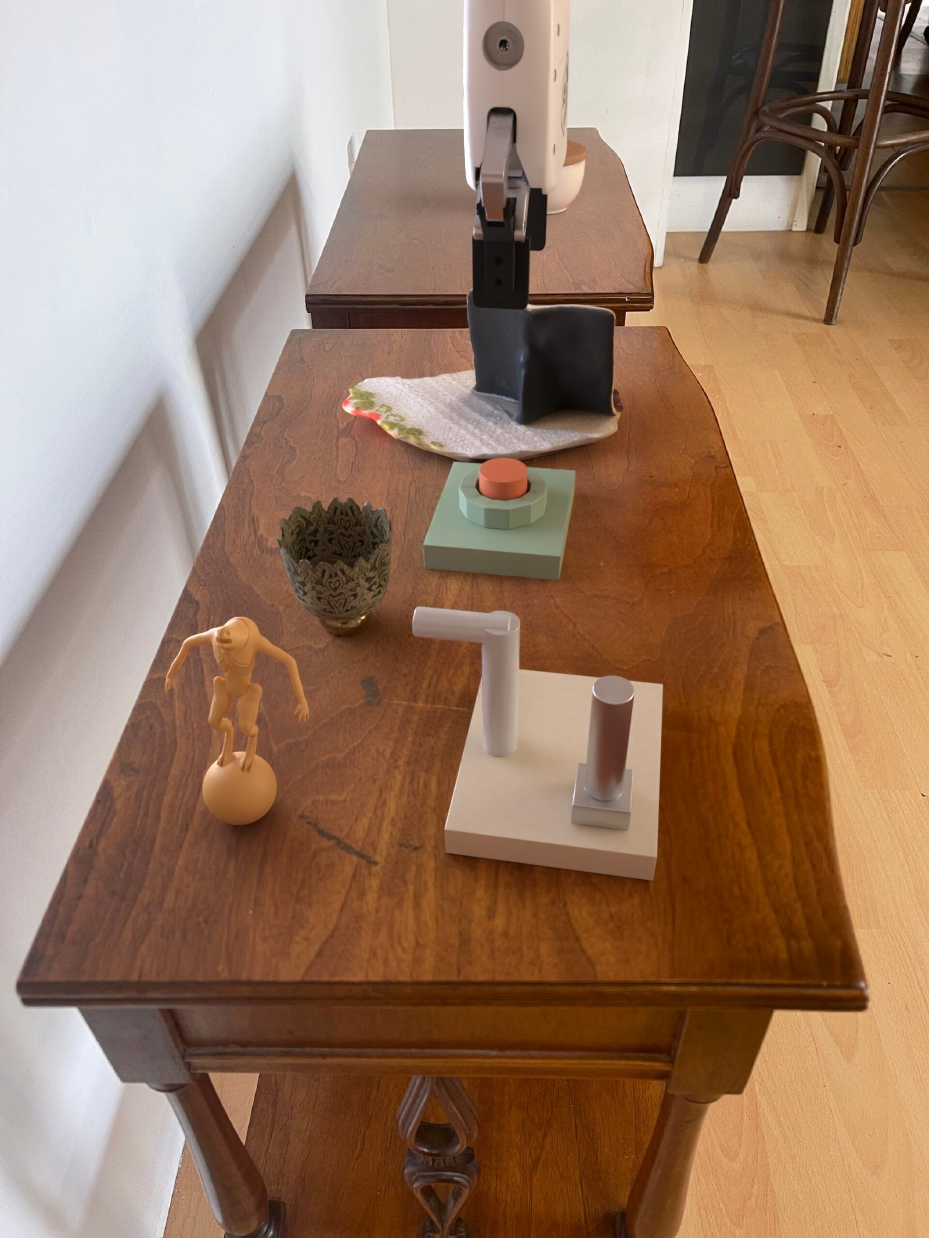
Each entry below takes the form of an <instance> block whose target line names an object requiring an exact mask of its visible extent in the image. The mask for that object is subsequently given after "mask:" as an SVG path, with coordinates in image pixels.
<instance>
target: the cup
mask: <svg viewBox="0 0 929 1238" xmlns="http://www.w3.org/2000/svg"><path fill="white" fill-rule="evenodd" d="M373 509H374V508H373V506H372V503H371V501H370V500H367V501H366V502H365V503H364V504H363V506H362V508H361V507H360V505H359V504H357V503H356V501H355V500H354V498H352V497H347V498H346V500H345V502H344V501H343V500H341V499H340V498H339V497H338V496H335V497H333V498H332V499H331V501H330V502H329V504H328V506H327V510H326V508H325V507H323V504H322V501H321V500H319V499H317V500H316V501H315V502H314V503H313V505H312V508H311V510H307V509H306V508H304V507H303V506H298V505H297V506H294V508H293V509H292V511H291V512H290V514H289V515H288V518H285V517H282V518H280V521H279V528H280V531H281V532H280V533H281V535H280V536H279V537H275V538H276V543H277V545H278V548H279V551H280V555H281V557H282V560H283V565H284V568H285V570H286V574H287V576H288V579H289V582H290V585H291V588H292V590H293V592H294V595H295V597H296V599H297V600H298V602H299V603H300V605H301V606H302V607H303V608H304V610H305V611H307V612H308V613H310V615H312V616H314V617H316V618H318V621H319V623H320V625H321V626H322V628H323V629H325V630H326V631H327V632H328V633H330V634H331V635H335V636H343V637H344V636H352V635H355V634H358V633H360V632H362V631H363V630H364V629H366V628H367V627H368V625H369V624H370V622H371V619H372V617H373V612H374V610H376V608H378V607H379V606H380V604H381V602H382V601H383V600H384V598H385V596H386V595H387V594H386V593H387V591H388V587H389V582H390V576H391V566H392V548H393V547H392V544H393V533H392V531H393V527H392V518H391V517H388V513H387V510H386V508H385V507H383V506H381V507H379V508H376V509H374V510H373Z"/></svg>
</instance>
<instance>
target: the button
mask: <svg viewBox="0 0 929 1238" xmlns="http://www.w3.org/2000/svg"><path fill="white" fill-rule="evenodd" d="M481 464H482V465H481V466H480V469H479V490H480V493H481V494H482V496H485V497H487V498H489V499H492V500H502V501H508V500H512V499H517V498H521V497H522V496H524V495H525V494H526V492H527V467H528V466H527V465H526V464H525V463H524V462H522V460H520V461H518V460H516V459H512V458H495V459H491V460H488V461H486V462H482V463H481Z"/></svg>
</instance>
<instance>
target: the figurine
mask: <svg viewBox="0 0 929 1238" xmlns="http://www.w3.org/2000/svg"><path fill="white" fill-rule="evenodd" d="M207 645H212V651H213V657H214V659H215V661H216V663H217V664H218V666H220V669H221V672H222V673H223V674H224V676H220V675H217V676H215V677H214V678H213V681H212V683H213V697H212V700H211V705H210V712H209V716H208V718H207V722H208V724H209V725H210V727H211V728H212V729H214V730H218V731H221V732H225V733H224V738H223V744H222V745H223V746H222V750H221V754H220V755H219V756H218V757H217V760H216V761H214V762H213V763H212V764H211V765H210V767H209V768H208V770H207V771H206V773H205V775H204V778H203V782H202V797H203V798H202V799H203V801H204V804H205V806H206V808H207V809H208V812H210V813H211V815H213V817H214V818H216V819H217V820H219V821H221V822H222V823H224V824H227V825H233V826H245V825H249V824H252V823H255V822H257V821H258V820H259V819H262V818H263V817H264V816H265V815H266V814H267V813H268V812H269V811H270V809H271V808H272V806H273V804H274V803H275V800H276V798H277V797H276V796H277V792H278V783H277V777H276V774H275V772H274V770H273V768H272V767H271V765H270V764H269V763H268V762H267V761H266V760H265V759H264V758H263V757H262V756H260V755H257V754H256V751H257V744H258V734H259V726H258V725H257V724H256V721H257V718H258V715H259V708H260V701H261V698H262V696H263V687H262V686H261V685H260V684H259V683H256V682H254V683H251V679H252V672H253V669H254V666H255V663H256V659H257V654H262V655H265V656H267V657H268V658H270V659H272V660H274V661H276V662H278V663H280V664H282V665H285V666H286V669H287V672H288V676H289V677H290V681H291V686H292V689H293V692H294V694H295V696H296V699H297V700H298V702H299V704H298V705H297V706H296V708H295V710H294V713H293V714H294V715H296V714H297V713H298V712H299V714H298V715H299V716H298V723H301V721H302V719H303V723H306V720H307V721H309V718H310V710H309V706H308V702H307V700H306V696H305V692H304V687H303V684H302V681H301V677H300V675H299V674H300V673H299V668H298V664H297V661H296V659H295V658H294V657H293V656H291V655H290V654H289V653H287V651H284V650H283V649H281V648H280V647H278V646H276V645H274V644H273V643H271V642H270V641H269V639H267V637H264V636H263V635H261V633H260V630H259V627H258V625H257V624H256V623H255V622H254V621H253V620H252V619H250V618H249V617H246V616H235V617H232V618H231V619H229V620H228V621H227V622H226V623H225V624H223V625H222V626H218V627H213V628H211V629H209V630H207V631H205V632H201V633H197V634H194V635H191V636H189V637H187V638H186V639H185V640H184V641H183V642H182V645H181V647H180V650H179V652H178V654H177V655H176V657H175V659H174V660H173V661H172V663H171V664H170V668H169V670H168V672H167V675H166V678H165V685H164V694H165V695H166V696H168V694H169V690H170V689H171V687H172V678H173V677H174V675H176V674H177V672H178V671H179V670H180V669H181V667H182V665H183V664H184V662H185V660H186V658H187V656H188V655H189V653H190V649H191V648H192V647H201V646H207ZM233 697H234V698H239V699H238V701H237V703H236V707H235V711H236V716H237V717H238V725H239V729H240V731H241V732H242V734H243V735H244V736H247V737H248V739H247V745H246V750H245V751H234V752H233V745H234V734H235V733H234V732H235V730H234V726H233V722H232V720H231V719H229V718H228V717H224V716H225V715H226V714H228V713H229V712H230V711H231V709H232V704H233ZM302 717H303V718H302Z"/></svg>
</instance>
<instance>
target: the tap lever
mask: <svg viewBox="0 0 929 1238" xmlns="http://www.w3.org/2000/svg"><path fill="white" fill-rule="evenodd" d="M629 681H630V680H629V679H627V678H625V677H623V676H620V675H604V676H601V677H599V679H598V680H597V681H596V682H595V683H594V685H593V688H592V700H591V712H590V724H589V736H588V748H587V760H586V764H584V763H578V764H577V771H576V779H575V787H574V795H573V803H572V816H571V823H574V824H581V825H589V826H597V827H605V828H613V829H621V830H629V825H630V817H631V807H632V791H633V775H634V770H633V769H626V759H627V751H628V743H629V735H630V727H631V718H632V710H633V702H634V694H635V690H634V687H633V685H632V684H631V683H630V682H629Z"/></svg>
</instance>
